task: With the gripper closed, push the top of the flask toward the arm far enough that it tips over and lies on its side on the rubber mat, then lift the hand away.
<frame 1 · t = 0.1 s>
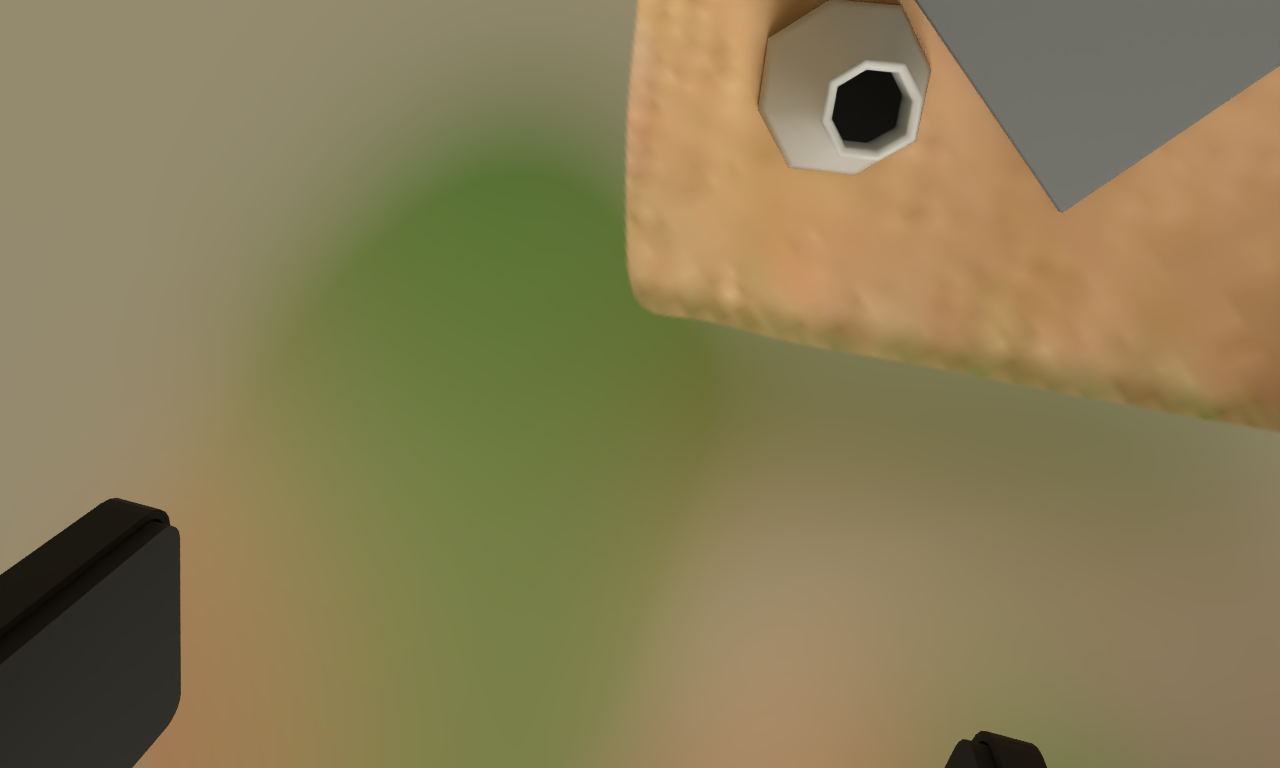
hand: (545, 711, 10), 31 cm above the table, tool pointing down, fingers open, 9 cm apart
flask: (841, 89, 36), on the table
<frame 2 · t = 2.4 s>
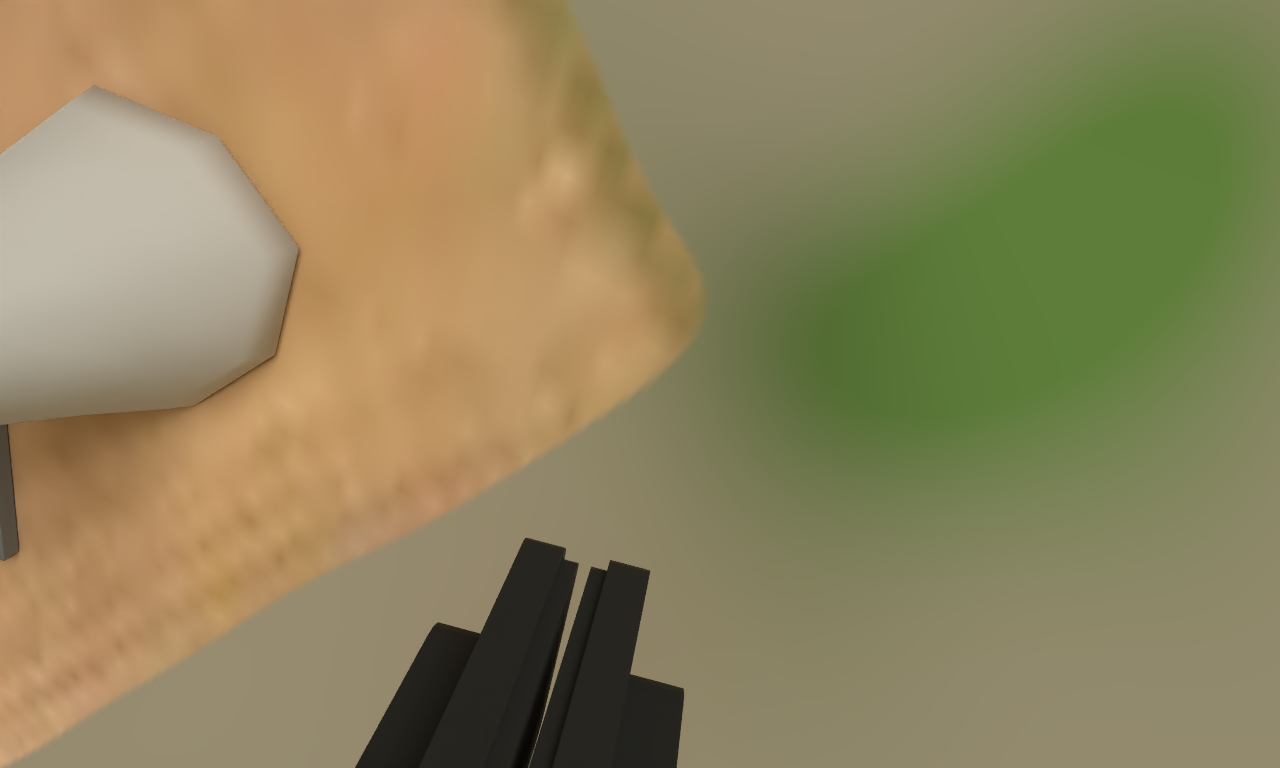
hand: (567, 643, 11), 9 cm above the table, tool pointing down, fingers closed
flask: (160, 252, 20), on the table
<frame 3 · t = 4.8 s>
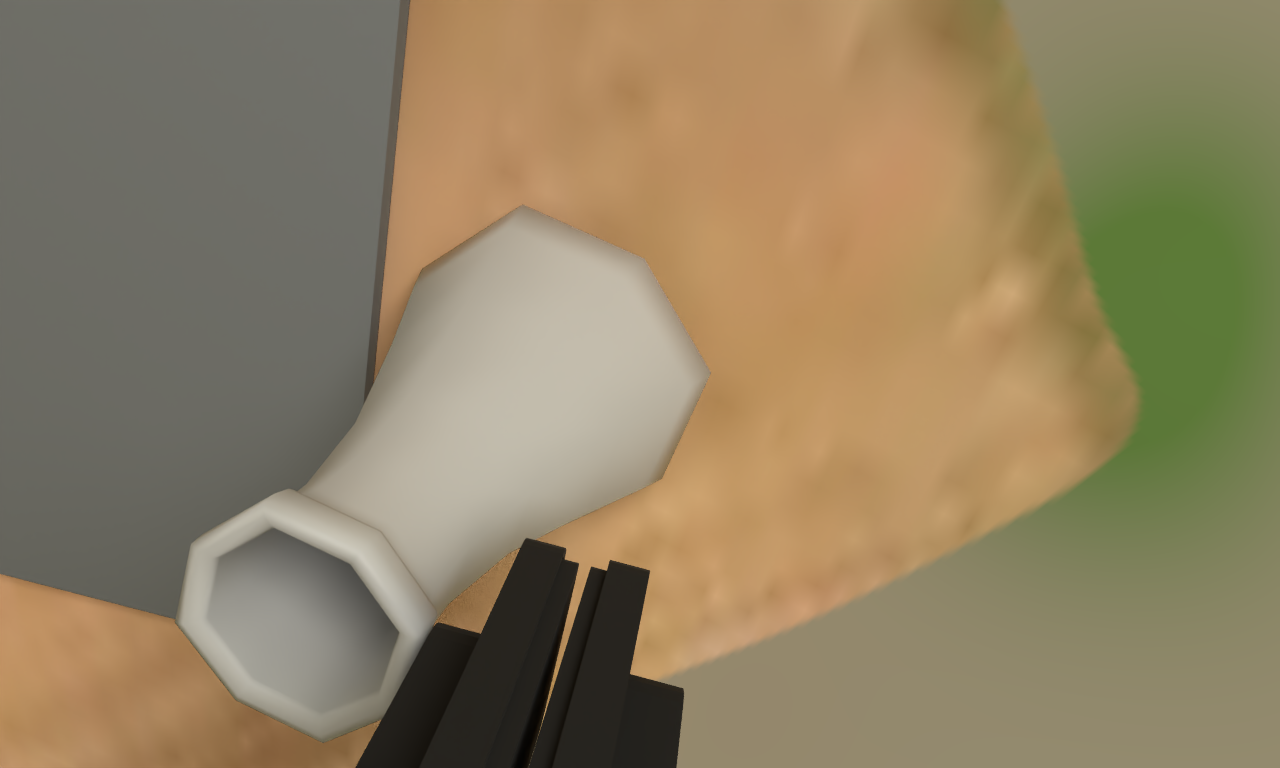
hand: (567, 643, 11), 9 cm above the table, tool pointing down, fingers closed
flask: (550, 368, 19), on the table, touching gripper
mat: (96, 253, 20), on the table
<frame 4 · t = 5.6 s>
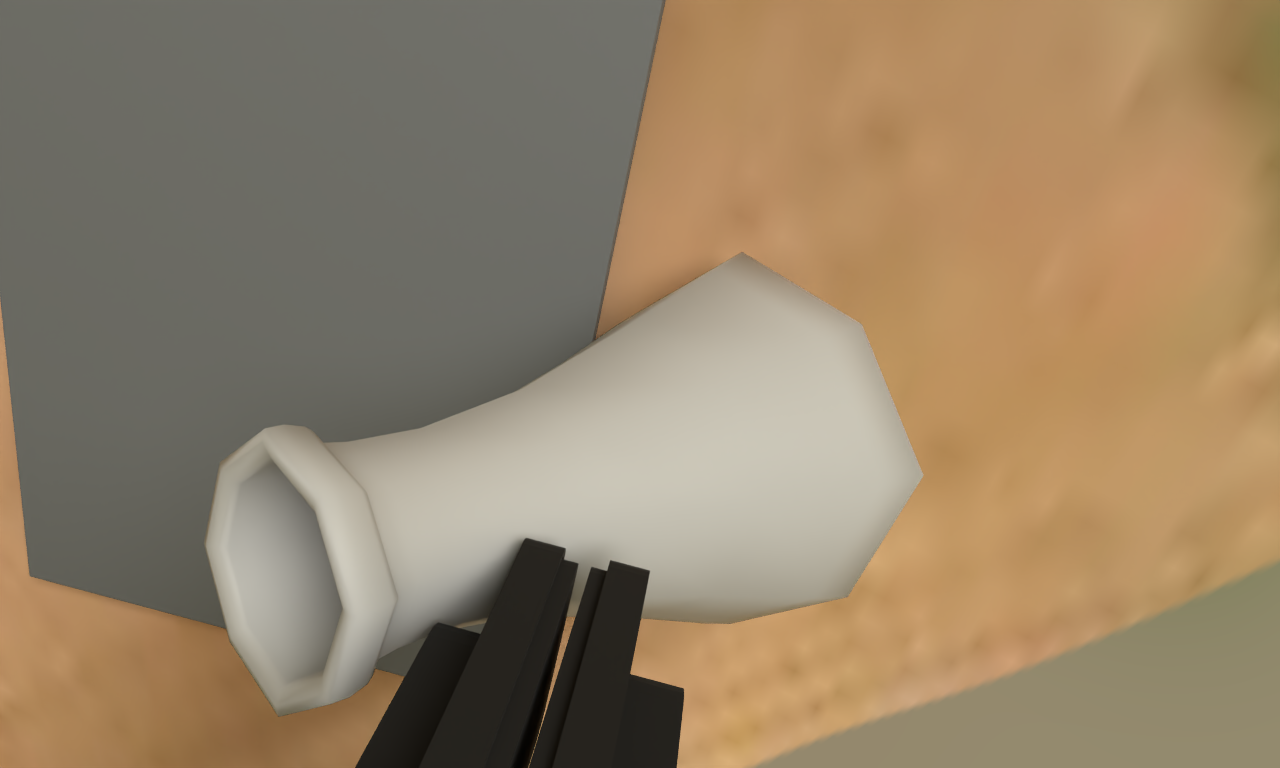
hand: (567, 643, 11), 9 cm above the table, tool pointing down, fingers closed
flask: (748, 440, 17), point 2 cm above the table, touching gripper
mat: (296, 294, 19), on the table
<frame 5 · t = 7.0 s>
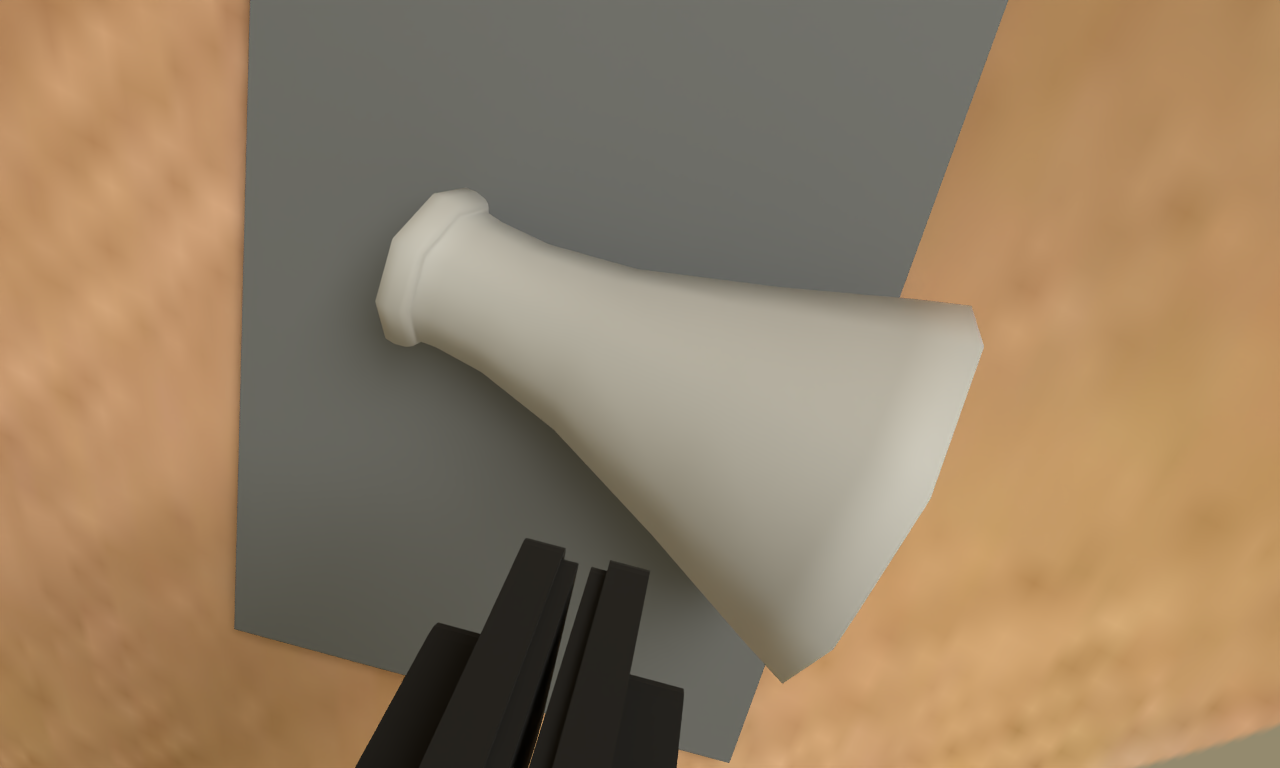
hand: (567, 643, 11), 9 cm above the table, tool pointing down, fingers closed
flask: (902, 504, 15), point 4 cm above the table, touching mat
mat: (546, 356, 19), on the table
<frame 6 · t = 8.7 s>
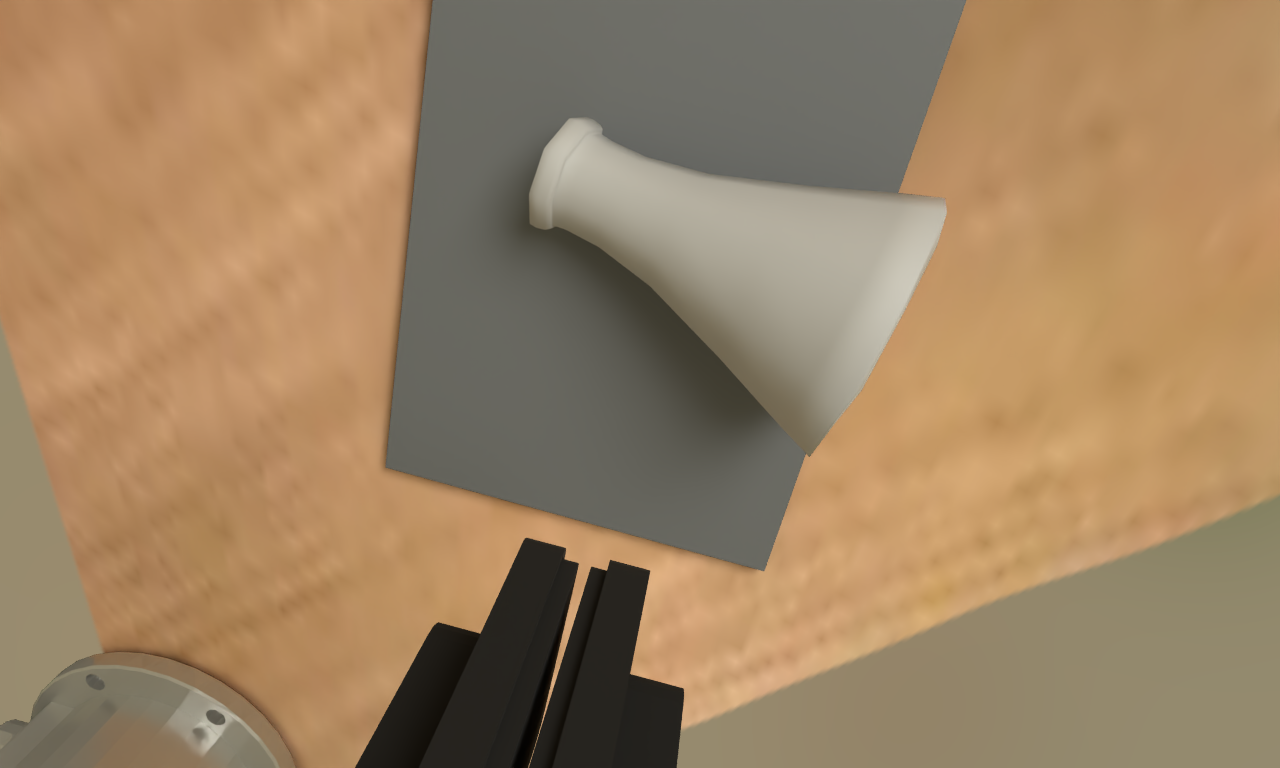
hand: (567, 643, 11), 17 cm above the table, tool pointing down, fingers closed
flask: (894, 335, 22), point 4 cm above the table, touching mat
mat: (634, 248, 26), on the table
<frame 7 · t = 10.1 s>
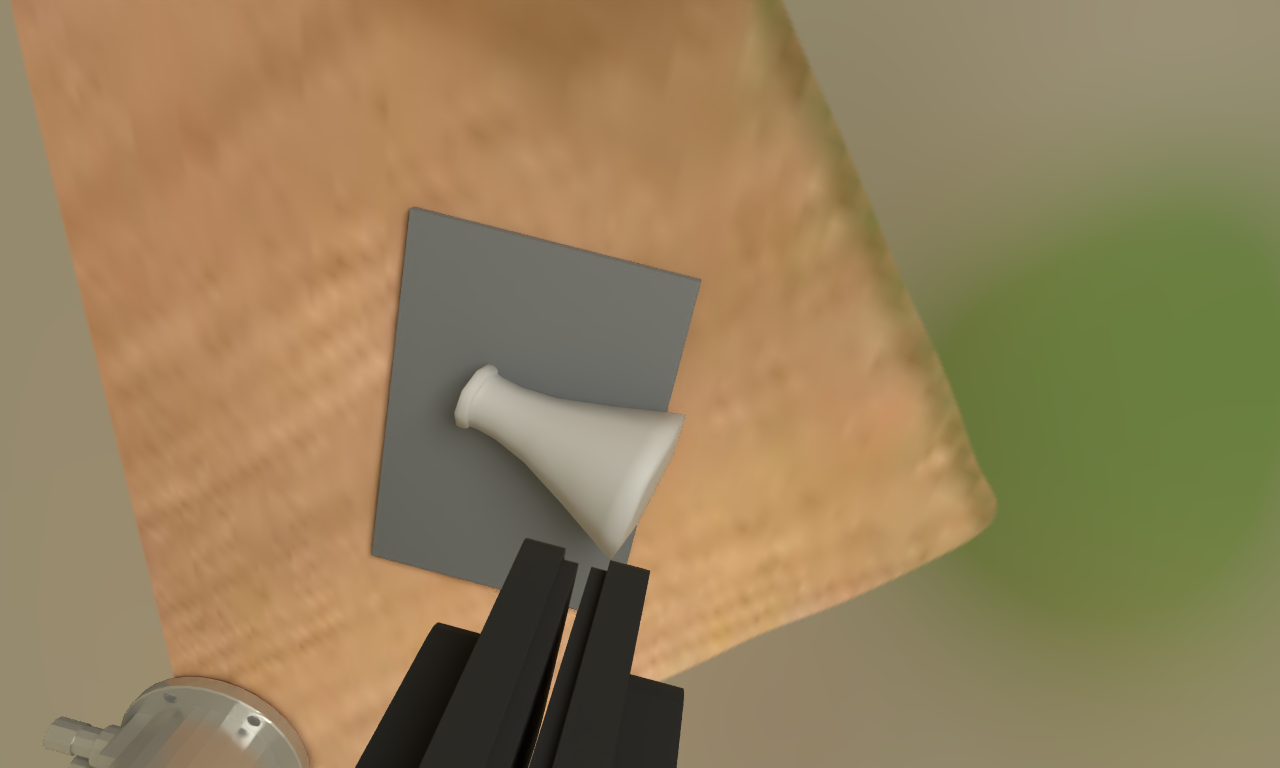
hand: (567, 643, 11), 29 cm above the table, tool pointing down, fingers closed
flask: (657, 492, 39), point 4 cm above the table, touching mat
mat: (522, 427, 43), on the table
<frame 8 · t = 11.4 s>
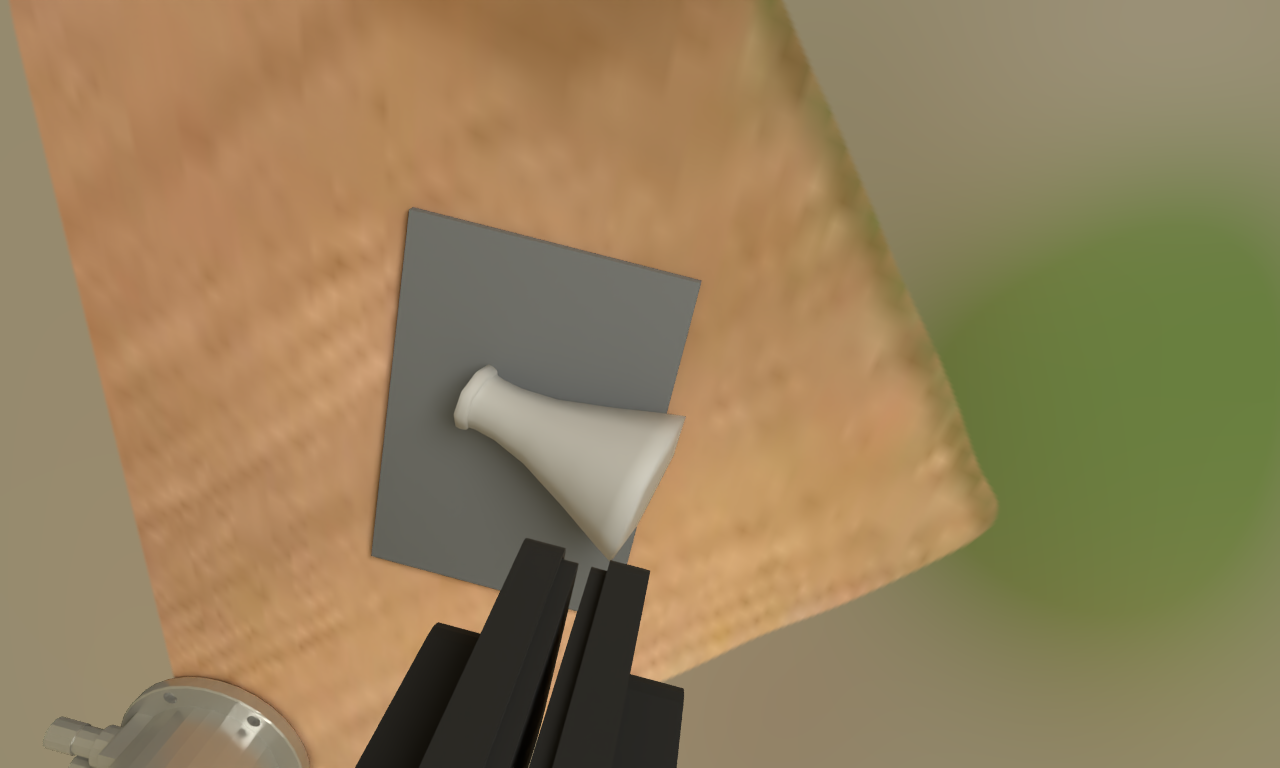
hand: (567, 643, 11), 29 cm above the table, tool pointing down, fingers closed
flask: (657, 493, 39), point 4 cm above the table, touching mat
mat: (522, 428, 43), on the table
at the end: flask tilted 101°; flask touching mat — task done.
